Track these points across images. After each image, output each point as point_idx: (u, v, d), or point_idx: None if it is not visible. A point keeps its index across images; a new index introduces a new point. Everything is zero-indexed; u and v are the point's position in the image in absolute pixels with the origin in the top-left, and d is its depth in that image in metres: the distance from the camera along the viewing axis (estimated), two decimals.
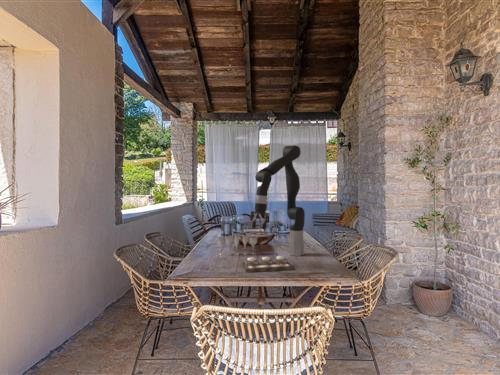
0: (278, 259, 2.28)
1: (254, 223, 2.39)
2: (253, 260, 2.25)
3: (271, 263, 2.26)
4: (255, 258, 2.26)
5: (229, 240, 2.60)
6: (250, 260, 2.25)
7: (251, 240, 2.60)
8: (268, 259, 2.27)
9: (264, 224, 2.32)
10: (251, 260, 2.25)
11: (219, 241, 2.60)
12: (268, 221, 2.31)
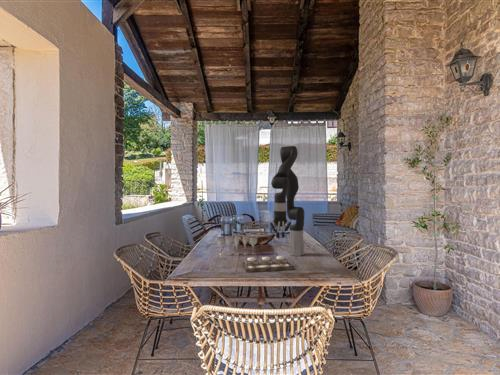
0: (278, 259, 2.28)
1: None
2: (253, 260, 2.25)
3: (271, 263, 2.26)
4: (255, 258, 2.26)
5: (229, 240, 2.60)
6: (250, 260, 2.25)
7: (251, 240, 2.60)
8: (268, 259, 2.27)
9: None
10: (251, 260, 2.25)
11: (219, 241, 2.60)
12: None
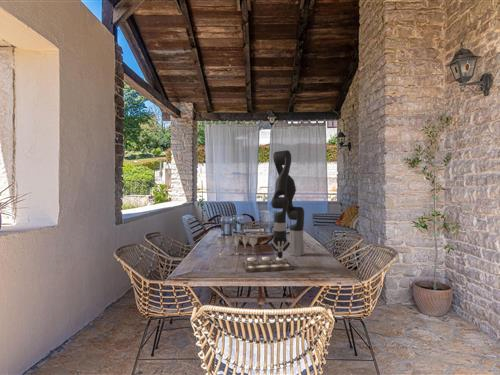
0: (278, 260, 2.28)
1: None
2: (253, 260, 2.25)
3: (271, 263, 2.26)
4: (255, 258, 2.26)
5: (229, 240, 2.60)
6: (250, 260, 2.25)
7: (251, 240, 2.60)
8: (268, 259, 2.27)
9: (282, 252, 2.30)
10: (251, 260, 2.25)
11: (219, 241, 2.60)
12: None
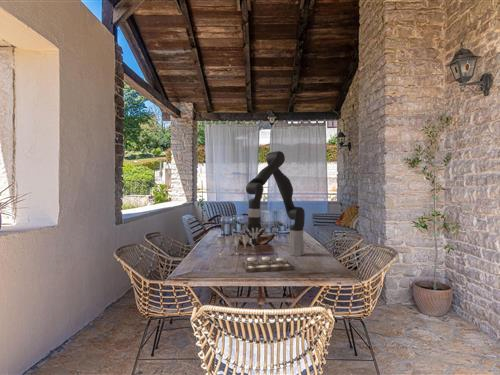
0: None
1: None
2: (253, 260, 2.25)
3: (271, 263, 2.26)
4: (255, 258, 2.26)
5: (229, 240, 2.60)
6: (250, 260, 2.25)
7: (251, 240, 2.60)
8: (268, 259, 2.27)
9: (256, 239, 2.26)
10: (251, 260, 2.25)
11: (219, 241, 2.60)
12: None
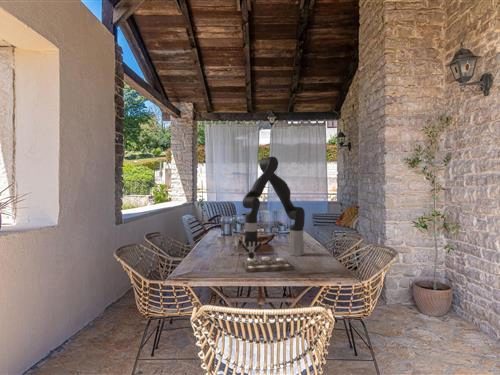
0: None
1: None
2: (253, 260, 2.25)
3: (271, 263, 2.26)
4: (255, 258, 2.26)
5: (229, 240, 2.60)
6: (250, 260, 2.25)
7: None
8: (268, 259, 2.27)
9: (253, 253, 2.26)
10: (251, 260, 2.25)
11: (219, 241, 2.60)
12: None
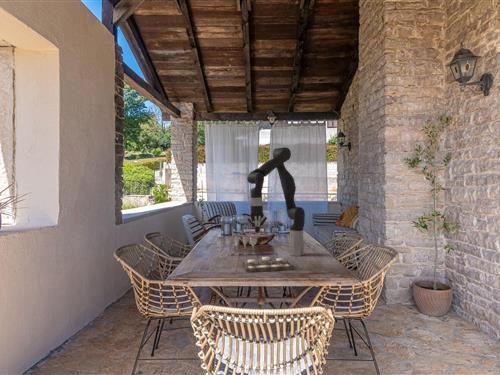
0: None
1: None
2: None
3: (271, 263, 2.26)
4: (255, 260, 2.26)
5: (229, 240, 2.60)
6: None
7: (251, 240, 2.61)
8: (268, 259, 2.27)
9: (259, 227, 2.32)
10: None
11: (219, 241, 2.60)
12: None
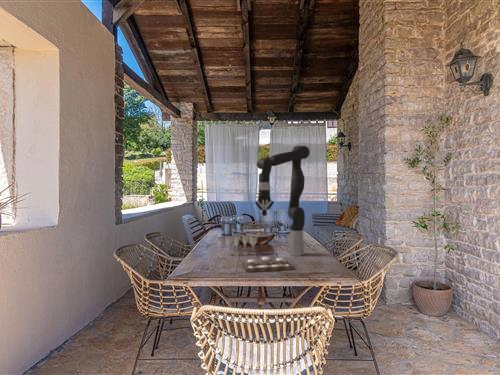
0: None
1: None
2: None
3: (271, 263, 2.26)
4: (255, 260, 2.26)
5: (229, 240, 2.60)
6: None
7: (251, 240, 2.61)
8: (268, 259, 2.27)
9: (266, 211, 2.44)
10: None
11: (219, 241, 2.60)
12: None
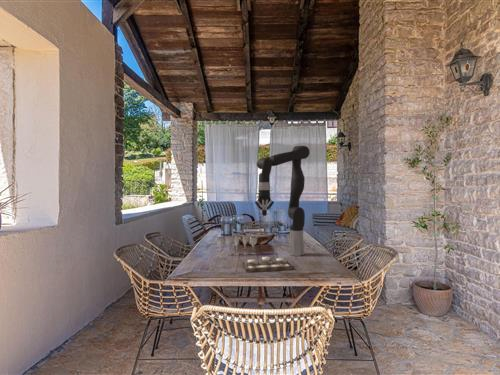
0: None
1: None
2: None
3: (271, 263, 2.26)
4: (255, 260, 2.26)
5: (229, 240, 2.60)
6: None
7: (251, 240, 2.61)
8: (268, 259, 2.27)
9: (266, 211, 2.44)
10: None
11: (219, 241, 2.60)
12: None
